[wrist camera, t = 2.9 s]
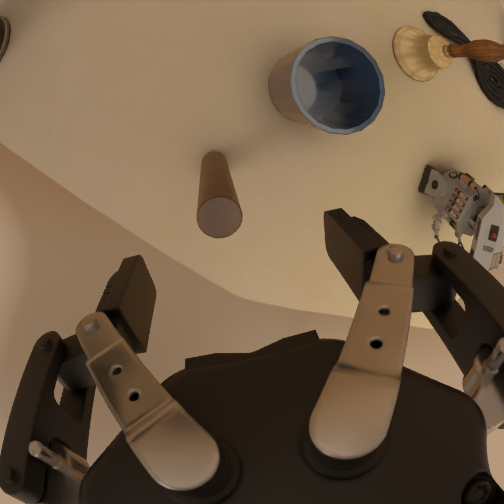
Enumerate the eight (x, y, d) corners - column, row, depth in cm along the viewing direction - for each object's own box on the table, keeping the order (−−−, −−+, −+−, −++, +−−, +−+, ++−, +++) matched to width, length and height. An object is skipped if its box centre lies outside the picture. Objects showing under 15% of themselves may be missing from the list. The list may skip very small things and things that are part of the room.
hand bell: (381, 44, 25) (476, 34, 12) (412, 17, 23) (500, 5, 9) (418, 92, 29) (511, 109, 15) (444, 62, 26) (531, 71, 13)
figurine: (404, 224, 39) (468, 280, 26) (427, 154, 34) (505, 190, 21) (439, 233, 41) (497, 282, 28) (461, 171, 36) (529, 208, 23)
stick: (204, 177, 32) (203, 243, 18) (199, 154, 30) (191, 202, 17) (228, 172, 32) (246, 233, 18) (223, 149, 30) (237, 191, 17)
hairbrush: (438, -8, 18) (526, 86, 24) (423, -3, 21) (512, 84, 27) (430, 31, 22) (519, 122, 28) (414, 34, 25) (505, 118, 31)
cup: (275, 130, 30) (299, 140, 22) (261, 54, 25) (281, 37, 18) (347, 121, 30) (388, 131, 23) (336, 50, 26) (377, 39, 18)
